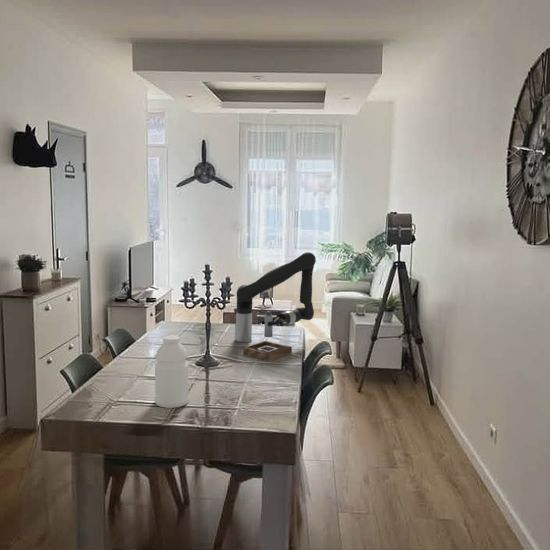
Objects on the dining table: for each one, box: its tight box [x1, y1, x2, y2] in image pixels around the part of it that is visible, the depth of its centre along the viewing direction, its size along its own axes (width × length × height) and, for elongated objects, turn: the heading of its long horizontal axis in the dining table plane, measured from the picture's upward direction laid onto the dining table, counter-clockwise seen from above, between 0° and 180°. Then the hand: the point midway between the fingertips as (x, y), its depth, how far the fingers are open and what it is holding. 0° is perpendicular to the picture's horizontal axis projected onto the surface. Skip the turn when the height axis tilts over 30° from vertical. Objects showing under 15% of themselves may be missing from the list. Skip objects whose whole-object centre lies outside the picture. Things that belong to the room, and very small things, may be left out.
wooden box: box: [242, 340, 293, 362], centre depth 298 cm, size 19×19×4 cm
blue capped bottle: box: [263, 310, 274, 338], centre depth 296 cm, size 4×4×14 cm
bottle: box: [154, 334, 190, 409], centre depth 225 cm, size 14×14×28 cm
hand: (265, 323), depth 294 cm, fingers closed on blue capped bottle, 4 cm apart
